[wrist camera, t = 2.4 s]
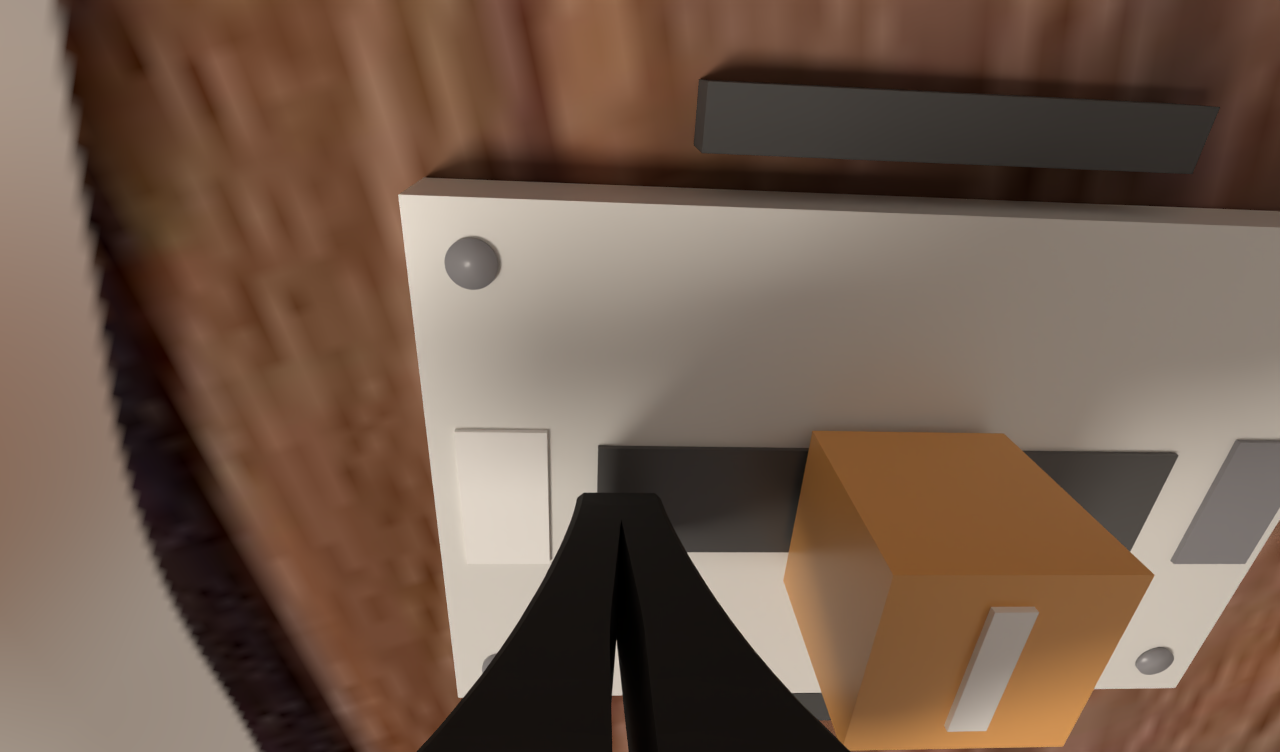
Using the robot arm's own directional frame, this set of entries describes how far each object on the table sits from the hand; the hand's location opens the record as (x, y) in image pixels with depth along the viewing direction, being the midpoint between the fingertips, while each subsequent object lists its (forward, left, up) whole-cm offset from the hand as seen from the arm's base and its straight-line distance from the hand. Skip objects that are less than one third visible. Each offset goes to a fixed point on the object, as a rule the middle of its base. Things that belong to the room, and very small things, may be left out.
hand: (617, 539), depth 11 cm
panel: (0, -5, -3) cm, 6 cm away
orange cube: (0, -5, -1) cm, 5 cm away
